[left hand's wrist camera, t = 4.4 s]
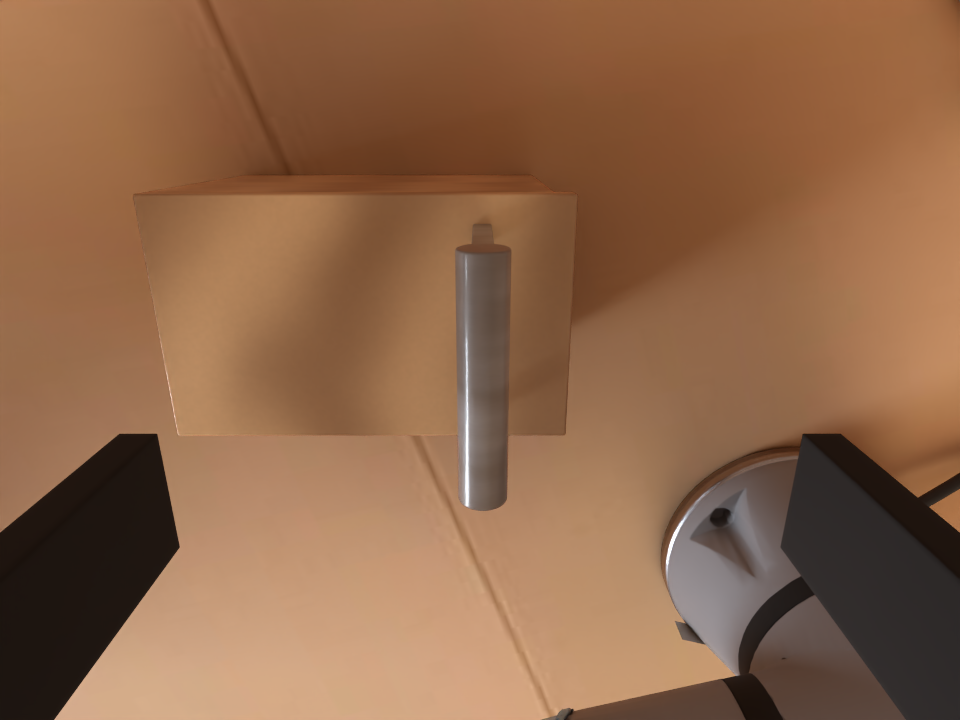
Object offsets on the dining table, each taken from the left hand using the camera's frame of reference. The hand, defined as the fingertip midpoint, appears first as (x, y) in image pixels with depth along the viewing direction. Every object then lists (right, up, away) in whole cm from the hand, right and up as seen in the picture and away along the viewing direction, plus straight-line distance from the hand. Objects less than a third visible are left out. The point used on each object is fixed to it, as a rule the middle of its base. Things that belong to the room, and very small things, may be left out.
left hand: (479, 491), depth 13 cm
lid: (-5, +5, +12) cm, 14 cm away
